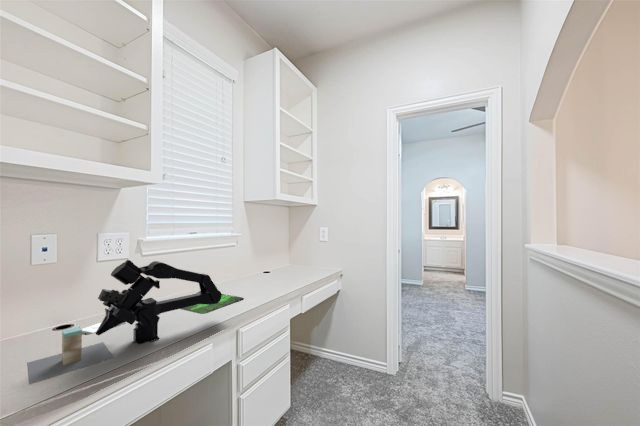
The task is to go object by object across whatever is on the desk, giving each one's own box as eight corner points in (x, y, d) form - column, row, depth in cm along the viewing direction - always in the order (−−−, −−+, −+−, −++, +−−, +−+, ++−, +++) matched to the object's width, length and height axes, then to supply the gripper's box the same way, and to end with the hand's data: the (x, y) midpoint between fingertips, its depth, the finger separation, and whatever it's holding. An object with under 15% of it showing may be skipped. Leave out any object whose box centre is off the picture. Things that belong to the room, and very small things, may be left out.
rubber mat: (103, 343, 95) (103, 342, 95) (114, 359, 84) (114, 357, 84) (27, 364, 81) (27, 362, 81) (29, 386, 71) (29, 384, 71)
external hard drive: (126, 324, 114) (92, 336, 102) (112, 321, 116) (78, 333, 105) (126, 320, 114) (92, 332, 102) (112, 318, 116) (78, 329, 105)
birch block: (79, 355, 86) (79, 326, 86) (81, 359, 83) (81, 330, 83) (61, 360, 83) (62, 330, 83) (63, 365, 80) (63, 334, 80)
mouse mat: (203, 315, 124) (203, 313, 124) (172, 308, 133) (172, 306, 133) (245, 299, 148) (245, 297, 148) (216, 294, 158) (216, 292, 158)
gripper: (109, 275, 98) (68, 315, 89) (123, 283, 85) (77, 330, 77) (135, 292, 104) (99, 331, 95) (152, 302, 91) (112, 347, 83)
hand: (96, 334), depth 87 cm, fingers closed
